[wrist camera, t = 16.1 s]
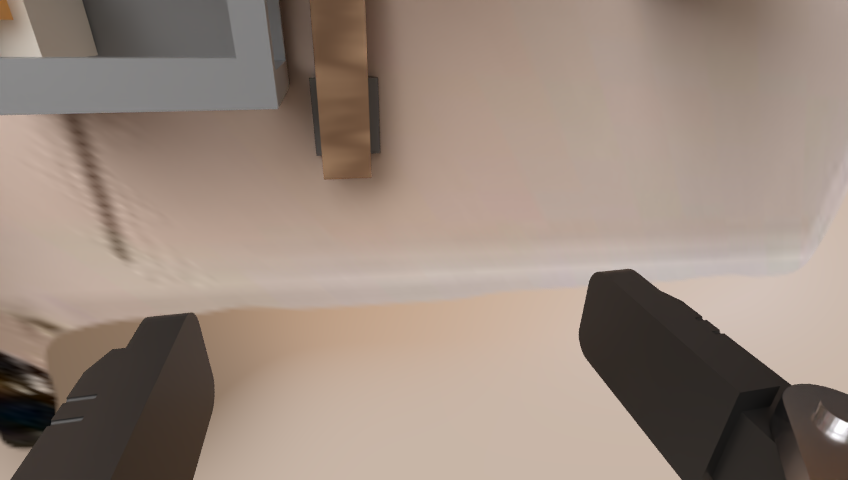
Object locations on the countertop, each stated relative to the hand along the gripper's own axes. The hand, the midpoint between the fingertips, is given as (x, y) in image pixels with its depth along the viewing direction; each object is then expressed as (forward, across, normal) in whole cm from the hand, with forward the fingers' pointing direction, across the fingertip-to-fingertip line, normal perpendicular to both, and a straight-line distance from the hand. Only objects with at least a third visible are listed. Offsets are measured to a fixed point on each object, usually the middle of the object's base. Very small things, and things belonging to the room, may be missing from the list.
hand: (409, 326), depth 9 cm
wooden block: (+22, 0, +3) cm, 22 cm away
